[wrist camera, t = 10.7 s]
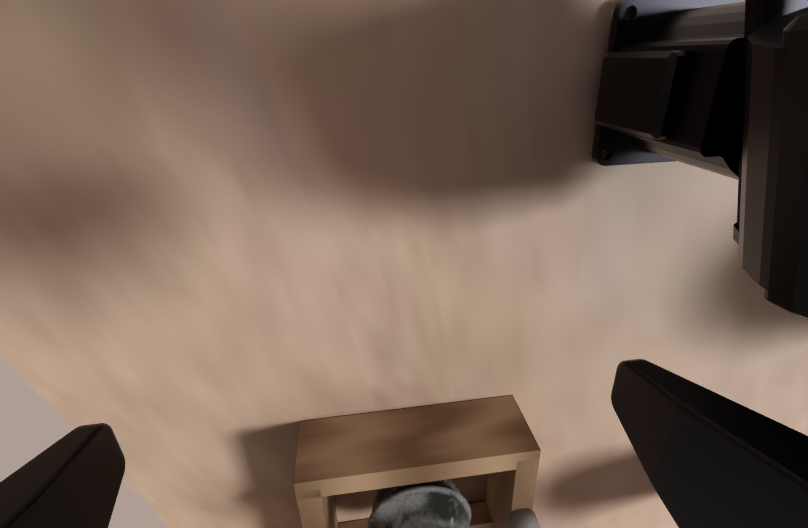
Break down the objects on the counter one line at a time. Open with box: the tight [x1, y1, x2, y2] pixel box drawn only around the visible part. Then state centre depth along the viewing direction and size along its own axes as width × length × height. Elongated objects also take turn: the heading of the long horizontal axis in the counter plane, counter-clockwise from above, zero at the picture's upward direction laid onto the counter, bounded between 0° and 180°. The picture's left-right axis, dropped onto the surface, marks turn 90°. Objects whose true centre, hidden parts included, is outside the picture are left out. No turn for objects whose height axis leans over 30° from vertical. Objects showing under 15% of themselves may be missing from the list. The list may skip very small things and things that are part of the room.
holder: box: [293, 395, 541, 528], centre depth 25 cm, size 13×10×5 cm
